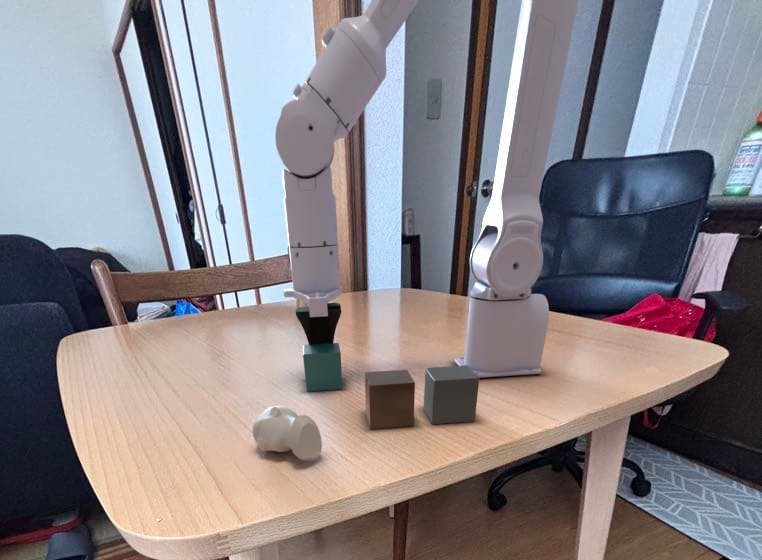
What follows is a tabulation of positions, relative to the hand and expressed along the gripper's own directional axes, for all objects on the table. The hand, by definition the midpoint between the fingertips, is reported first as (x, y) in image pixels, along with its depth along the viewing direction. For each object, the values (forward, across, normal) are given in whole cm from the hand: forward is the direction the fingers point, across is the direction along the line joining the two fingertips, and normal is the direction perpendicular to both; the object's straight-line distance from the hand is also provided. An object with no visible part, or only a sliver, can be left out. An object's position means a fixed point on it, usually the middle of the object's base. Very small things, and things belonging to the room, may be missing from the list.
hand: (322, 365), depth 62 cm
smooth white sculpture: (+2, +23, -4) cm, 24 cm away
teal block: (+1, +4, 0) cm, 4 cm away
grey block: (+1, +17, +13) cm, 21 cm away
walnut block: (+1, +17, +7) cm, 18 cm away
